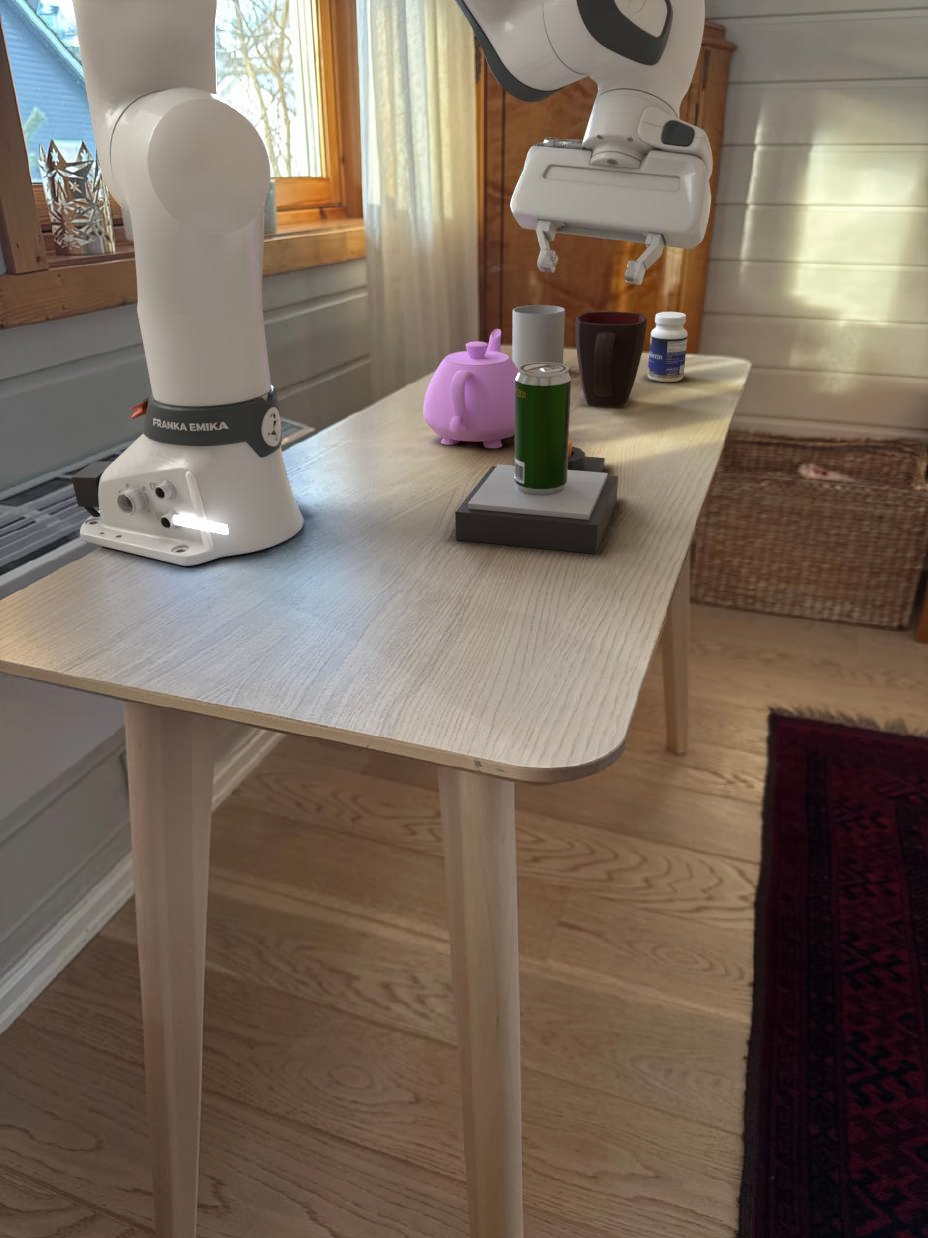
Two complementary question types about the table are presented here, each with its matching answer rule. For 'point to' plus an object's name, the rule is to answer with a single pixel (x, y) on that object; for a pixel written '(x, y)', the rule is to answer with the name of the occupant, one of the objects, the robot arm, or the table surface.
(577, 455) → the box
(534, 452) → the beer can
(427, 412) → the teapot
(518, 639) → the table surface
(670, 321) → the pill bottle
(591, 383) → the mug
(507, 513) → the scale
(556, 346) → the cup
